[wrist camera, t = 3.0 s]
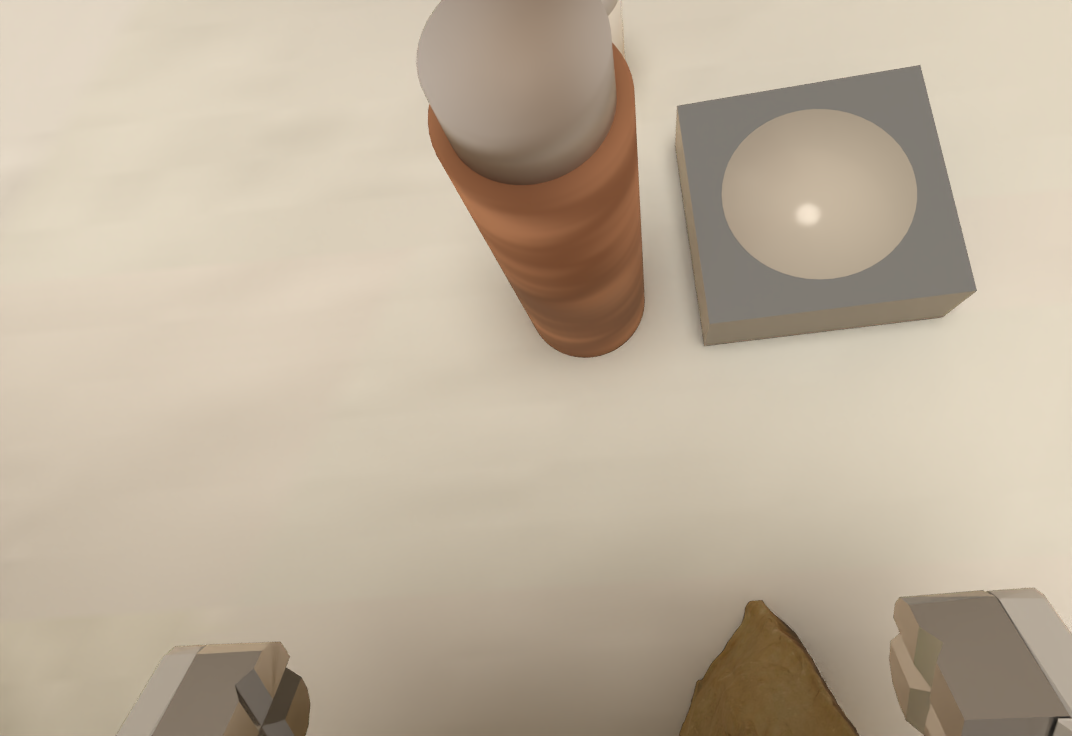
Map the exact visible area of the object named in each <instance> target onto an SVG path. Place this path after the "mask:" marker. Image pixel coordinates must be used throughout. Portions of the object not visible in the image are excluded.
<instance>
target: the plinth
mask: <svg viewBox="0 0 1072 736" xmlns="http://www.w3.org/2000/svg"><path fill="white" fill-rule="evenodd" d="M675 150H676V156H677V163H678V170H679V177H680V184H681V191H682V197H683V204H684V211H685V218H686V225H687V232H688V238H689V245H690V252H691V259H692V266H693V273H694V280H695V286H696V293H697V300H698V307H699V314H700V321H701V327H702V334H703V341H704V346H707V345H716V344H724V343H732V342H740V341H749V340H757V339H765V338H774V337H782V336H790V335H799V334H807V333H815V332H823V331H832V330H840V329H848V328H857V327H865V326H873V325H882V324H890V323H898V322H907V321H915V320H923V319H931V318H940V317H944V316H945V315H946V314H947V313H949V312H950V311H951V310H953V309H954V308H955V307H956V306H958V305H959V304H960V303H962V302H963V301H964V300H965V299H967V298H968V297H969V296H971V295H972V294H973V293H975V292H976V291H977V290H976V286H975V282H974V278H973V274H972V270H971V266H970V262H969V258H968V254H967V250H966V246H965V242H964V238H963V234H962V230H961V226H960V222H959V218H958V214H957V210H956V206H955V202H954V198H953V194H952V190H951V186H950V182H949V178H948V174H947V170H946V166H945V162H944V158H943V154H942V150H941V146H940V142H939V138H938V134H937V130H936V126H935V122H934V118H933V114H932V110H931V106H930V102H929V98H928V94H927V90H926V87H925V83H924V79H923V75H922V71H921V67H920V65H918V66H912V67H906V68H900V69H894V70H888V71H882V72H876V73H870V74H864V75H858V76H852V77H847V78H841V79H835V80H829V81H823V82H817V83H811V84H805V85H799V86H793V87H787V88H781V89H775V90H769V91H763V92H757V93H751V94H745V95H739V96H733V97H727V98H721V99H715V100H709V101H703V102H697V103H692V104H686V105H680V106H677V117H676V138H675Z"/></svg>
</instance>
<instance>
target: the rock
mask: <svg viewBox="0 0 1072 736" xmlns="http://www.w3.org/2000/svg"><path fill="white" fill-rule="evenodd" d="M679 736H859V734H858V733H857V730H856V728H855V727H854V726H853V724H852V723H851V722H850V721H849V719H848V718H847V717H846V716H845V714H844V712H843V711H842V709H841V708H840V706H839V705H838V704H837V702H836V700H835V698H834V696H833V694H832V693H831V691H830V690H829V689H828V687H827V685H826V683H825V681H824V680H823V678H822V677H821V675H820V673H819V671H818V669H817V667H816V665H815V664H814V662H813V660H812V658H811V657H810V655H809V654H808V652H807V651H806V649H805V647H804V646H803V644H802V643H801V641H800V639H799V638H798V636H797V635H796V634H795V632H793V631H792V630H791V629H790V628H789V627H788V626H787V625H786V624H785V623H784V622H783V621H782V620H780V619H779V618H778V617H777V616H775V615H774V614H773V613H772V612H771V611H770V610H769V609H768V608H767V606H766V605H765V604H764V602H763V601H762V600H758V601H750V602H749V603H748V604H747V606H746V607H745V615H744V619H743V621H742V624H741V625H740V627H739V628H738V629H737V630H736V632H735V633H734V634H733V636H732V637H731V639H730V640H729V642H728V643H727V645H726V647H725V649H724V651H723V652H722V653H721V654H720V655H719V656H718V657H717V658H716V659H715V660H714V661H713V662H712V664H711V665H710V667H709V669H708V671H707V672H706V674H705V676H704V678H703V679H702V680H698V681H697V683H696V687H695V691H694V695H693V699H692V701H691V706H690V709H689V712H688V714H687V716H686V719H685V722H684V723H683V725H682V728H681V731H680V734H679Z"/></svg>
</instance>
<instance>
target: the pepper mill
mask: <svg viewBox="0 0 1072 736" xmlns="http://www.w3.org/2000/svg"><path fill="white" fill-rule="evenodd" d="M417 72H418V78H419V81H420V85H421V87H422V90H423V92H424V94H425V96H426V98H427V100H428V102H429V110H428V127H429V135H430V138H431V142H432V146H433V148H434V150H435V152H436V155H437V157H438V159H439V160H440V162H441V164H442V166H443V167H444V169H445V171H446V172H447V174H448V176H449V178H450V179H451V181H452V183H453V185H454V186H455V188H456V190H457V192H458V193H459V195H460V197H461V199H462V200H463V202H464V204H465V206H466V207H467V209H468V211H469V213H470V214H471V216H472V218H473V220H474V221H475V223H476V225H477V227H478V228H479V230H480V232H481V234H482V235H483V237H484V239H485V241H486V242H487V244H488V246H489V248H490V249H491V251H492V253H493V255H494V256H495V258H496V260H497V262H498V263H499V265H500V267H501V269H502V270H503V272H504V274H505V275H506V277H507V279H508V281H509V282H510V284H511V286H512V288H513V289H514V291H515V293H516V295H517V296H518V298H519V300H520V302H521V303H522V305H523V307H524V309H525V310H526V312H527V314H528V316H529V317H530V319H531V321H532V323H533V324H534V326H535V328H536V330H537V331H538V333H539V334H540V336H541V337H542V338H543V339H544V340H545V341H546V342H547V343H548V344H549V345H550V346H551V347H553V348H554V349H556V350H558V351H560V352H562V353H564V354H567V355H570V356H575V357H595V356H601V355H604V354H607V353H609V352H611V351H613V350H615V349H617V348H618V347H620V346H621V345H623V344H624V343H625V342H626V341H627V340H628V339H629V338H630V337H631V336H632V335H633V333H634V332H635V331H636V329H637V327H638V325H639V323H640V321H641V318H642V316H643V311H644V303H645V299H644V279H643V258H642V238H641V217H640V197H639V177H638V156H637V136H636V115H635V95H634V85H633V80H632V75H631V73H630V70H629V67H628V65H627V63H626V61H625V59H624V57H623V56H622V54H621V52H620V51H619V50H618V49H617V47H616V46H615V45H614V44H613V43H612V37H611V28H610V23H609V18H608V15H607V13H606V10H605V7H604V5H603V4H602V2H601V0H442V1H441V2H440V3H439V4H438V6H437V7H436V8H435V9H434V11H433V12H432V14H431V15H430V17H429V19H428V20H427V22H426V24H425V27H424V29H423V31H422V34H421V37H420V40H419V44H418V50H417Z"/></svg>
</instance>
